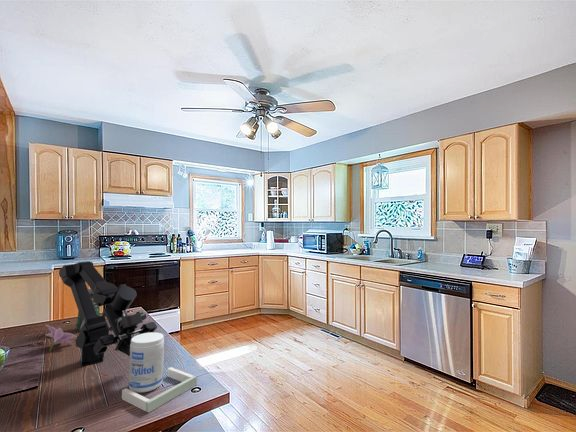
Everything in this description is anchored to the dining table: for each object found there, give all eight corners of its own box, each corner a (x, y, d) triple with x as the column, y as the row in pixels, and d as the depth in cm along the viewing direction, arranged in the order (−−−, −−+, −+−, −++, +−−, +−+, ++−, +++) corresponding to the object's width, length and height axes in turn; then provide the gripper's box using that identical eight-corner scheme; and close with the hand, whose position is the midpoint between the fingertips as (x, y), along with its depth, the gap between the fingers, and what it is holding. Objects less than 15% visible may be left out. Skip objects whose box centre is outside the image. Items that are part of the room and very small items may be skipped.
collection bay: (121, 399, 87) (121, 390, 87) (170, 374, 101) (170, 367, 101) (148, 412, 81) (148, 403, 81) (196, 384, 95) (196, 376, 95)
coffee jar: (79, 333, 140) (79, 292, 140) (74, 328, 145) (75, 289, 146) (102, 327, 147) (103, 288, 147) (97, 324, 152) (98, 286, 153)
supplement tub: (127, 397, 88) (128, 345, 88) (129, 381, 97) (130, 334, 97) (164, 389, 92) (164, 340, 92) (162, 375, 101) (163, 330, 101)
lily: (76, 352, 122) (84, 327, 127) (42, 349, 113) (52, 322, 118) (62, 355, 127) (70, 331, 132) (29, 352, 119) (39, 326, 124)
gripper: (98, 310, 92) (119, 356, 86) (154, 298, 108) (174, 335, 102) (84, 332, 96) (103, 377, 90) (140, 317, 112) (159, 354, 106)
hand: (138, 359), depth 97 cm, fingers closed, pressing on supplement tub
